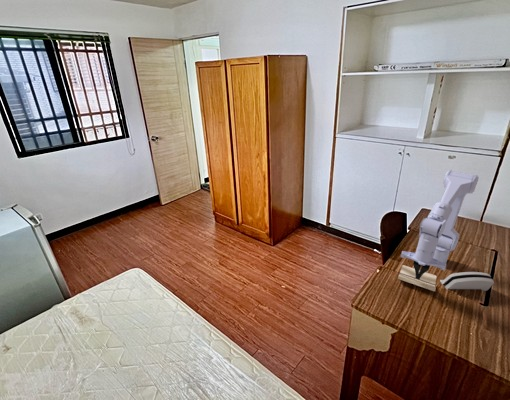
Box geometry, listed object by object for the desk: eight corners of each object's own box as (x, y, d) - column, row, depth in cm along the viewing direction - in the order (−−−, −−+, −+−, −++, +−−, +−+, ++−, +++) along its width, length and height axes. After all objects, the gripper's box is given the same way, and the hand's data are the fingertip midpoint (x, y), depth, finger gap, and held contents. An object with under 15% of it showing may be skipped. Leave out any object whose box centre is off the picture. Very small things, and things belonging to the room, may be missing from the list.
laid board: (402, 267, 122) (402, 264, 121) (435, 278, 115) (436, 275, 114) (399, 275, 117) (399, 273, 116) (434, 287, 110) (435, 285, 109)
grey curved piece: (478, 281, 112) (492, 268, 105) (485, 292, 109) (500, 280, 102) (437, 281, 113) (448, 269, 106) (442, 292, 110) (454, 280, 103)
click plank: (398, 276, 116) (399, 273, 116) (434, 288, 109) (435, 285, 109) (397, 278, 110) (398, 275, 110) (435, 291, 103) (435, 288, 103)
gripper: (402, 247, 101) (395, 276, 107) (449, 260, 94) (438, 291, 99) (405, 238, 107) (398, 266, 112) (450, 250, 99) (440, 280, 104)
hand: (417, 277), depth 106 cm, fingers closed
